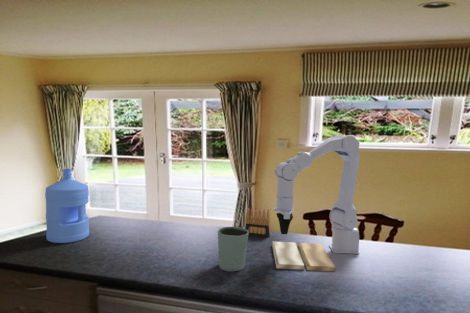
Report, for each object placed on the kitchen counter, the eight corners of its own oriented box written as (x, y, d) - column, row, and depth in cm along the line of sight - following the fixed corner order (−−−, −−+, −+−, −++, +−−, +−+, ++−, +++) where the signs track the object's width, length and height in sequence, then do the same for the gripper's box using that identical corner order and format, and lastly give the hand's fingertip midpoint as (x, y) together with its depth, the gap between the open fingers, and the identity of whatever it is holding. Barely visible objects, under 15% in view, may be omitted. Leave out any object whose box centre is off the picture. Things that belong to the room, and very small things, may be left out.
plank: (294, 246, 131) (295, 242, 131) (304, 269, 109) (304, 264, 109) (272, 245, 132) (272, 241, 132) (276, 268, 110) (276, 263, 110)
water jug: (36, 241, 131) (34, 170, 129) (67, 229, 146) (66, 166, 144) (69, 246, 126) (67, 172, 124) (97, 233, 141) (96, 168, 139)
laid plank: (320, 247, 131) (320, 243, 131) (334, 271, 109) (335, 266, 109) (297, 246, 131) (297, 242, 131) (307, 270, 109) (307, 265, 109)
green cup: (213, 262, 114) (213, 228, 113) (240, 258, 118) (240, 225, 117) (223, 274, 105) (224, 237, 104) (252, 269, 109) (253, 233, 108)
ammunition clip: (269, 236, 143) (270, 208, 142) (269, 237, 142) (270, 209, 141) (245, 233, 146) (246, 206, 145) (244, 235, 144) (245, 207, 143)
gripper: (272, 192, 126) (271, 227, 128) (275, 200, 112) (274, 239, 113) (291, 192, 126) (290, 227, 127) (296, 200, 112) (295, 240, 113)
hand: (283, 233), depth 120 cm, fingers closed
